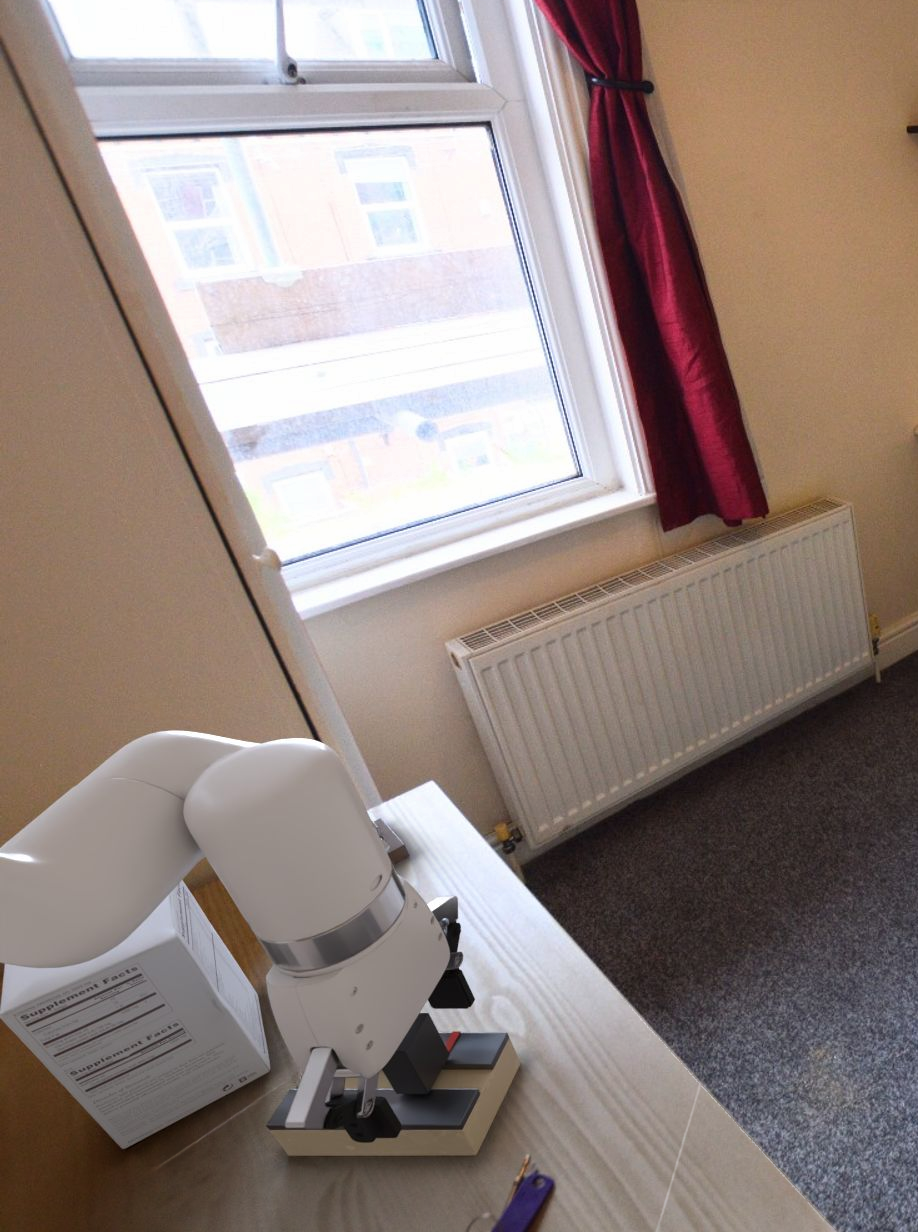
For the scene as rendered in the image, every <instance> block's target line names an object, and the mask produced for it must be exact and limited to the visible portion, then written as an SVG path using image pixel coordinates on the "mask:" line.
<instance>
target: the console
mask: <svg viewBox="0 0 918 1232" xmlns="http://www.w3.org/2000/svg"><path fill="white" fill-rule="evenodd" d="M438 1032H439V1031H438ZM439 1034H440V1036H441V1038H442V1040H443V1042H444V1044H445V1046H446V1048H447V1050H448V1052H449V1054H450V1056H449V1058H448V1059H447V1061H446V1063H445V1065H444V1067H443V1068H442V1070H441V1072H440V1074H439V1076H438V1077H437V1079H436V1081H435V1083H434V1084H433V1086H432V1088H431V1090H430V1092H429V1093H428V1094H396V1092H395V1091H394V1089H393V1087H392V1086H391V1084H390V1082H389V1081H388V1079H387V1077H386V1076H385V1074H384V1072H383V1070H382V1069H381V1070H380V1071H379V1076H378V1084H377V1092H376V1096H381V1097H384V1098H386V1100H387V1101H388V1103H389V1105H390V1106H391V1108H392V1110H393V1111H394V1113H395V1115H396V1116H397V1118H398V1119H399V1121H400V1123H401V1127H402V1129H401V1131H400V1133H399V1135H398V1137H397V1138H376V1139H375V1141H374V1142H371V1143H360V1142H356V1141H354V1140H352V1139H351V1138H350V1136H349V1135H348V1133H347V1132H346V1130H345V1129H344V1127H343V1126H340V1127H338V1128H336V1129H311V1130H288V1129H286V1128H285V1122H286V1119H287V1116H288V1113H289V1111H290V1108H291V1106H292V1103H293V1100H294V1098H295V1095H296V1092H297V1090H298V1088H290V1090H289V1091H288V1092H287V1094H286V1095H285V1096H284V1098H283V1099H282V1100H281V1102H280V1104H279V1105H278V1107H276V1110H275V1111H274V1112H273V1114H272V1115H271V1116H270V1118H269V1119H268V1121H267V1122H266V1123H265V1127H266V1128H267V1129H268V1131H269V1132H270V1134H272V1136H273V1137H274V1139H275V1140H276V1141H277V1143H279V1145H280V1146H281V1148H282V1149H283V1151H284V1152H285V1153H286V1155H287V1156H288V1157H304V1156H305V1157H306V1156H307V1157H318V1156H319V1157H324V1156H325V1157H326V1156H328V1157H329V1156H331V1157H333V1156H336V1157H339V1156H340V1157H343V1156H351V1157H352V1156H353V1157H354V1156H355V1157H357V1156H359V1157H361V1156H363V1157H364V1156H365V1157H366V1156H369V1157H370V1156H371V1157H372V1156H375V1157H376V1156H378V1157H379V1156H382V1157H385V1156H390V1157H392V1156H393V1157H395V1156H397V1157H398V1156H400V1157H401V1156H407V1157H408V1156H410V1157H411V1156H413V1157H414V1156H418V1157H419V1156H420V1157H421V1156H434V1157H435V1156H477V1155H478V1153H479V1151H480V1148H481V1147H482V1145H483V1142H484V1140H485V1138H486V1137H487V1134H488V1132H489V1130H490V1128H491V1126H492V1124H493V1122H494V1120H495V1117H496V1116H497V1114H498V1111H499V1109H500V1108H501V1105H502V1103H503V1102H504V1099H505V1097H506V1095H507V1093H508V1091H509V1089H510V1086H511V1085H512V1083H513V1080H514V1079H515V1076H516V1074H517V1073H518V1071H519V1068H520V1066H521V1061H520V1058H519V1056H518V1054H517V1052H516V1049H515V1047H514V1045H513V1043H512V1040H511V1039H510V1035H509V1033H508V1032H507V1031H506V1032H505V1031H504V1032H500V1031H499V1032H493V1031H492V1032H488V1031H487V1032H484V1031H482V1032H481V1031H480V1032H478V1031H477V1032H475V1031H474V1032H473V1031H472V1032H471V1031H467V1032H466V1031H465V1032H461V1031H458V1030H456V1031H452V1032H451V1031H450V1032H448V1031H447V1032H445V1031H444V1032H443V1031H442V1032H441V1031H440V1032H439ZM358 1082H359V1078H346V1079H345V1087H344V1094H357V1090H358ZM344 1094H343V1095H344Z"/></svg>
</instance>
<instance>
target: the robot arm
mask: <svg viewBox="0 0 918 1232" xmlns="http://www.w3.org/2000/svg"><path fill="white" fill-rule="evenodd" d="M372 821H373V820H372V819H371V816H370V815H369V813H368V811H367V809H366V807H365V805H364V802H363V800H362V799H361V796H360V794H359V792H358V790H357V788H356V785H355V783H354V781H353V779H352V778H351V775H350V773H349V771H348V768H347V767H346V765H345V764H344V762H343V759H341V757H340V756H339V754H338V753H337V752H336V750H334V749H333V748H332V747H331V746H329V745H327V743H323V742H322V741H321V742H320V741H319V740H315V739H310V738H299V737H297V738H296V737H295V738H294V737H293V738H282V739H281V738H280V739H276V740H271V741H266V742H263V743H259V742H252V741H245V740H240V739H235V738H229V737H224V736H218V735H215V734H214V735H213V734H210V733H203V732H197V731H189V730H188V731H187V730H163V731H162V730H161V731H156V732H152V733H149V734H146V735H143V736H140V737H138V738H136V739H134V740H132V741H130V742H128V743H127V744H125V745H124V746H123V747H121V748H120V749H119V750H117V751H116V752H115V753H113V754H112V755H111V756H110V757H108V758H107V759H106V760H105V761H104V762H102V763H101V764H100V765H99V766H98V767H97V768H95V769H94V770H93V771H92V772H91V773H90V774H88V775H86V777H85V778H83V779H82V780H81V781H80V782H79V783H77V784H76V785H75V786H73V787H71V788H70V789H69V790H68V791H67V792H65V793H64V794H63V795H62V796H60V798H58V799H57V800H56V801H54V802H53V803H52V804H51V805H50V806H49V807H47V808H46V809H45V810H43V812H41V813H40V814H39V815H38V816H36V817H35V818H34V819H33V820H31V822H29V823H28V824H27V825H26V826H24V827H23V828H22V829H21V830H20V831H18V832H17V833H16V834H15V835H13V837H11V838H10V839H9V840H7V841H6V842H5V843H4V844H2V846H0V963H1V964H4V965H5V964H10V965H16V966H22V967H30V968H60V967H67V966H72V965H77V964H81V963H84V962H87V961H90V960H93V959H95V958H97V957H99V956H101V955H103V954H105V953H107V952H109V951H110V950H112V949H113V948H115V947H117V946H118V945H119V944H120V943H122V942H123V941H124V940H125V939H127V938H128V937H129V936H130V935H131V934H132V933H133V932H134V931H135V930H136V929H137V928H138V927H139V926H140V925H141V924H142V923H143V922H144V921H145V920H146V919H147V918H148V917H149V916H150V915H151V913H152V912H153V911H154V910H155V909H156V908H157V907H158V906H159V905H160V904H161V903H162V901H163V900H164V899H165V898H166V897H167V896H168V895H169V894H170V893H171V892H172V891H173V889H174V888H175V887H176V886H177V885H178V884H179V883H180V882H181V881H182V880H183V881H184V879H185V878H186V877H187V876H188V874H189V873H191V871H192V870H193V869H194V868H195V867H196V865H197V864H199V862H200V861H202V860H204V859H206V860H207V861H208V863H209V865H210V866H211V868H212V869H213V871H214V872H215V874H216V876H217V877H218V879H219V881H220V882H221V884H222V885H223V886H224V888H225V889H226V891H227V894H228V895H229V896H230V898H231V899H232V901H233V903H234V905H235V907H237V909H238V911H239V912H240V914H241V916H242V917H243V919H244V920H245V922H246V924H247V925H248V926H249V928H250V929H251V931H252V933H253V934H254V936H255V937H256V939H257V941H258V942H259V944H260V946H261V947H262V948H263V950H264V952H265V954H266V955H267V957H268V958H269V960H270V961H271V963H272V966H271V967H270V969H269V970H268V972H267V974H266V976H265V983H266V990H267V996H268V999H269V1004H270V1008H271V1011H272V1014H273V1017H274V1020H275V1024H276V1025H277V1028H278V1030H279V1033H280V1035H281V1037H282V1040H283V1041H284V1043H285V1046H286V1048H287V1050H288V1051H289V1053H290V1056H291V1057H292V1059H293V1061H294V1062H295V1064H296V1067H298V1069H299V1071H300V1072H301V1073H302V1077H301V1079H300V1082H299V1084H298V1087H297V1089H298V1090H297V1092H296V1095H295V1098H294V1100H293V1103H292V1106H291V1108H290V1111H289V1113H288V1116H287V1119H286V1122H285V1128H286V1129H288V1130H311V1129H336V1128H338V1127H340V1126H343V1127H344V1129H345V1130H346V1132H347V1133H348V1135H349V1136H350V1138H351V1139H352V1140H354V1141H356V1142H360V1143H371V1142H374V1141H375V1139H376V1138H397V1137H398V1135H399V1133H400V1131H401V1129H402V1127H401V1123H400V1121H399V1119H398V1118H397V1116H396V1115H395V1113H394V1111H393V1110H392V1108H391V1106H390V1105H389V1103H388V1101H387V1100H386V1098H384V1097H381V1096H376V1092H377V1084H378V1076H379V1071H380V1070H381V1069H382V1068H383V1067H384V1066H385V1065H386V1064H387V1063H388V1061H389V1060H390V1059H391V1057H392V1056H393V1054H394V1053H395V1051H396V1050H397V1048H398V1047H399V1045H400V1043H401V1042H402V1040H403V1039H404V1037H405V1036H406V1034H407V1032H408V1031H409V1029H410V1028H411V1026H412V1024H413V1023H414V1021H415V1020H416V1018H417V1016H418V1015H419V1013H422V1010H423V1008H424V1006H425V1005H426V1003H427V1002H428V1004H429V1006H430V1007H431V1008H432V1009H434V1010H467V1009H469V1008H471V1007H472V1006H473V1004H474V1002H475V1000H476V998H475V996H474V993H473V992H472V989H471V988H470V985H469V983H468V981H467V979H466V977H465V974H464V972H463V969H461V968H460V967H461V966H462V964H463V961H464V954H463V951H458V949H459V944H460V938H461V932H462V925H461V923H460V922H457V920H458V919H459V898H458V896H457V895H439V896H437V897H436V898H434V899H432V900H431V901H429V902H426V901H425V900H424V898H423V897H422V896H421V894H420V893H419V891H417V890H416V888H414V886H413V885H412V884H411V883H410V882H408V881H407V879H406V878H404V877H403V876H402V875H399V874H398V872H397V870H396V868H395V867H394V866H395V865H393V864H392V862H391V860H390V858H389V856H388V854H387V852H388V851H389V850H390V848H391V846H390V844H389V843H388V842H387V841H385V840H383V839H380V837H379V835H378V833H377V831H376V829H375V827H374V825H373V823H372ZM346 1078H359V1082H358V1090H357V1094H344V1087H345V1079H346ZM343 1094H344V1095H343Z"/></svg>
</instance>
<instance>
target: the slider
mask: <svg viewBox="0 0 918 1232" xmlns="http://www.w3.org/2000/svg"><path fill="white" fill-rule="evenodd" d="M449 1056H450V1054H449V1052H448V1050H447V1048H446V1046H445V1044H444V1042H443V1040H442V1038H441V1036H440V1034H439V1030H438V1028H437V1027H436V1025H435V1022H434V1021H433V1019H432V1017H431V1015H430V1013H429V1012H420V1013H419V1015H418V1016H417V1018H416V1020H415V1021H414V1023H413V1024H412V1026H411V1028H410V1029H409V1031H408V1032H407V1034H406V1036H405V1037H404V1039H403V1040H402V1042H401V1043H400V1045H399V1047H398V1048H397V1050H396V1051H395V1053H394V1054H393V1056H392V1057H391V1059H390V1060H389V1061H388V1063H387V1064H386V1065H385V1066H384V1067H383V1068H382V1070H383V1072H384V1074H385V1076H386V1077H387V1079H388V1081H389V1082H390V1084H391V1086H392V1087H393V1089H394V1091H395V1092H396V1094H428V1093H429V1092H430V1090H431V1088H432V1086H433V1084H434V1083H435V1081H436V1079H437V1077H438V1076H439V1074H440V1072H441V1070H442V1068H443V1067H444V1065H445V1063H446V1061H447V1059H448V1058H449Z"/></svg>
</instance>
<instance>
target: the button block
mask: <svg viewBox="0 0 918 1232" xmlns="http://www.w3.org/2000/svg"><path fill="white" fill-rule="evenodd" d="M371 821H372V823H373V825H374V827H375V829H376V831H377V833H378V835H379V837H380V839H383V840H385V841H387V842H388V843H389V844H390V846H391V848H390V850H389V851H388V852H387V854H388V856H389V858H390V860H391V862H392V864H393V866H395V865H396V864H398V863H400V862H401V861H404V860H406V859H407V858H410V856H411V855H410V853H409V851H408V848H407V846H406V844H405V843H404V842H403V841H402V840H401V838H400V837H399V836H398V835H397V833H395V832H394V830H393V829H392V828H391V827H390V826H389V825H388V824H387V823H386V822H385V820H384V819H383V818H382V817H379V818H377V819H375V820H371Z"/></svg>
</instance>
